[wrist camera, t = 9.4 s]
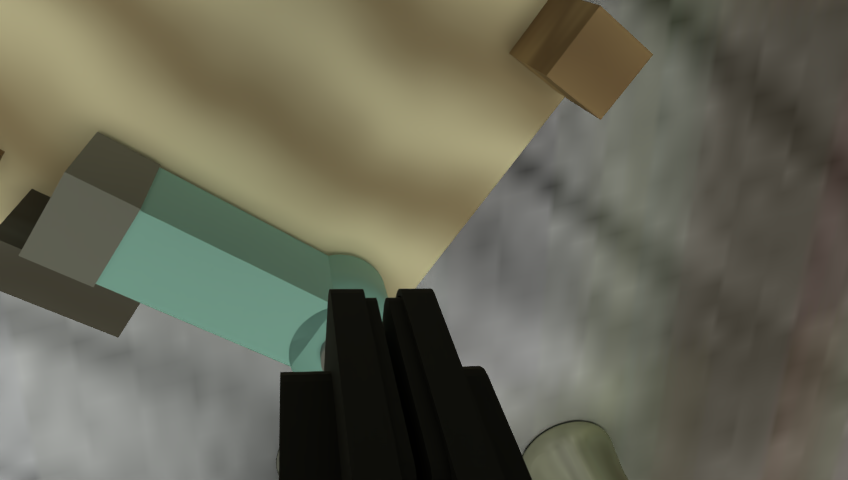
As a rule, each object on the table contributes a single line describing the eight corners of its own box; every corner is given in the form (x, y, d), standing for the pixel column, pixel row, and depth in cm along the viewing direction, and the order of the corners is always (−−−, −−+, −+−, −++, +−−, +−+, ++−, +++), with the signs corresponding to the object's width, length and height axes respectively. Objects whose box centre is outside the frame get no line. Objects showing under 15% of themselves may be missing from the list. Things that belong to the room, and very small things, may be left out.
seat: (147, -375, 19) (98, -485, 14) (593, 24, 27) (668, 51, 22) (-99, 158, 24) (-203, 226, 19) (339, 355, 33) (351, 439, 27)
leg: (51, 214, 24) (6, 275, 20) (103, 120, 23) (66, 164, 19) (350, 351, 30) (362, 419, 26) (404, 281, 29) (425, 341, 25)
